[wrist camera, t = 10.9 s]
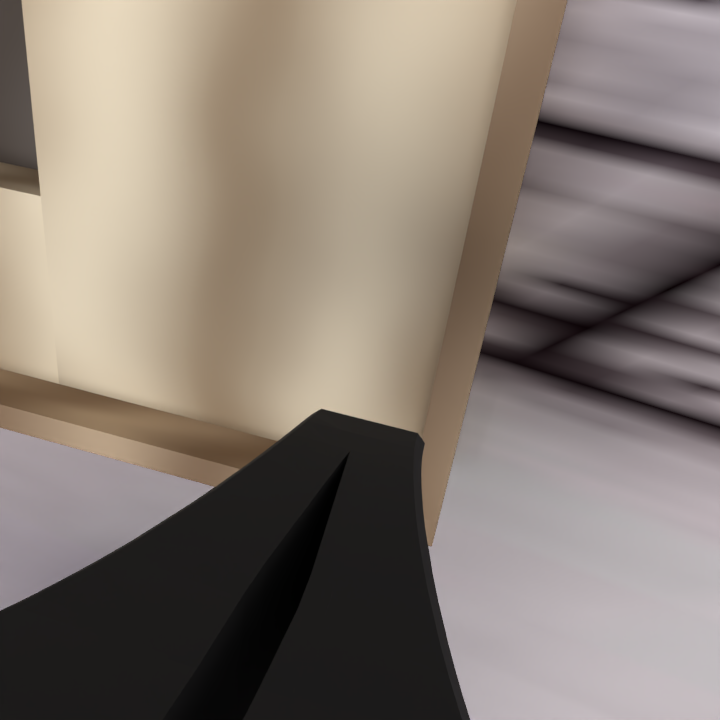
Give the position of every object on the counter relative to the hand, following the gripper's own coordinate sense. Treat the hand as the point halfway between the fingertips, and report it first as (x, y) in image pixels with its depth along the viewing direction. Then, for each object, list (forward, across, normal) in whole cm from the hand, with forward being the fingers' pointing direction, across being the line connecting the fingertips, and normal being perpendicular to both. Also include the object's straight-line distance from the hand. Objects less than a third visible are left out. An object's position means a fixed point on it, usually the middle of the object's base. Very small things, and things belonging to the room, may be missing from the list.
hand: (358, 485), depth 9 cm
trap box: (+10, +11, 0) cm, 15 cm away
